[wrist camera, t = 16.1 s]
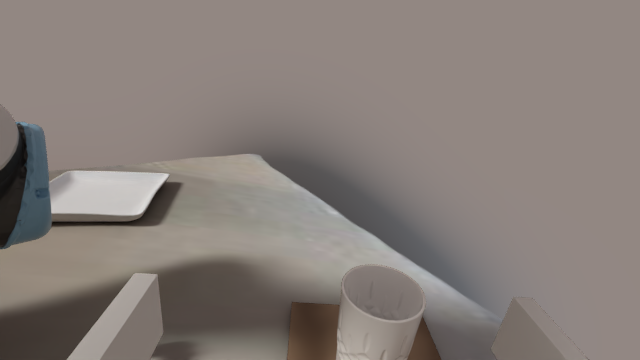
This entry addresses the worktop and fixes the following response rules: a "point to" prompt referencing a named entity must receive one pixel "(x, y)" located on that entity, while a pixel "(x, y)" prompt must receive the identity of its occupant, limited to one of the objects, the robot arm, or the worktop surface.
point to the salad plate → (102, 195)
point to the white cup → (378, 314)
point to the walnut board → (321, 334)
